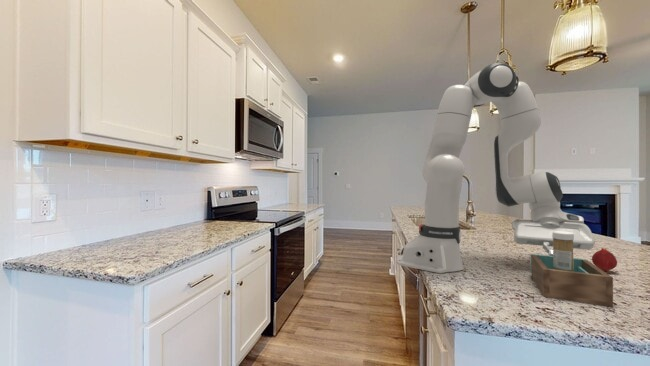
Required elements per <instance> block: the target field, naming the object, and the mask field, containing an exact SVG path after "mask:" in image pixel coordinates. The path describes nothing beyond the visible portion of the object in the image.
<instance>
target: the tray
mask: <svg viewBox="0 0 650 366" xmlns="http://www.w3.org/2000/svg"><path fill="white" fill-rule="evenodd" d="M532 255H536V256H537V257H538V258H539V259H540V260H541V261H542V262H543V263H544V265H545V266H546V267H547V268H548V269H553V256H549V255H547V254H537V253H534V254H533V253H530V274H532ZM573 258H574V269H573V272H581V273H588V272H586V271H585V270H584V269H583V268H582V260H587V259H585V258H580V257H579V258H576V257H573Z"/></svg>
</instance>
